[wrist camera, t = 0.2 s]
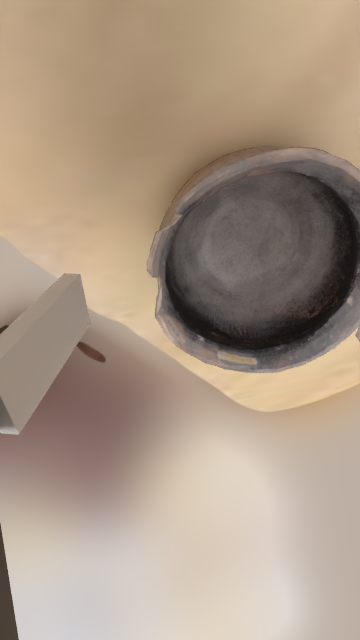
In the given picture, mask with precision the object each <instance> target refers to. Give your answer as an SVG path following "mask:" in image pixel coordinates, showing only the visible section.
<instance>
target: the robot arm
mask: <svg viewBox="0 0 360 640" xmlns="http://www.w3.org/2000/svg"><path fill="white" fill-rule="evenodd" d="M89 325H90V319H89V314H88V310H87V305H86V300H85V295H84V290H83V286H82V281H81V276H80V274H63V275H62V276H61V277H60V278H59V279H58V280H57V281H56V282H55V283H54V284H53V285H52V286H51V287H50V288H49V289H48V290H46V291H45V292H44V293H43V294H42V295H41V296H40V297H39V298H38V299H37V300H36V301H35V302H34V303H33V304H32V305H31V306H30V307H29V308H28V309H27V310H25V311H24V313H22V314H21V315H20V316H19V317H18V318H17V319H16V320H15V321H14V322H13V323H12V324H11V325H10V326H7V325H6V326H4V327H2V328H0V433H6V434H18V435H19V434H20V432H21V430H22V429H23V428H24V426H25V425H26V423H27V422H28V420H29V418H30V417H31V415H32V414H33V412H34V411H35V409H36V407H37V406H38V404H39V403H40V401H41V399H42V398H43V397H44V395H45V393H46V392H47V390H48V389H49V387H50V386H51V384H52V383H53V381H54V379H55V378H56V376H57V375H58V373H59V372H60V370H61V368H62V367H63V365H64V364H65V362H66V361H67V359H68V358H69V356H70V354H71V353H72V351H73V350H74V348H75V347H76V345H77V344H78V342H79V340H80V339H81V337H82V336H83V334H84V333H85V331H86V329H87V328H88V326H89ZM356 337H357V338H358V340H359V341H360V325H359V328H358V331H357V333H356ZM0 640H19V639H18V633H17V627H16V621H15V614H14V607H13V601H12V595H11V588H10V582H9V576H8V570H7V563H6V557H5V550H4V544H3V538H2V531H1V525H0Z"/></svg>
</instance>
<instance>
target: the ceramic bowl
mask: <svg viewBox="0 0 360 640" xmlns="http://www.w3.org/2000/svg"><path fill="white" fill-rule="evenodd" d="M147 271H148V272H149V274H150V275H151V276H152V277H156V278H157V279H158V289H159V292H158V295H157V299H156V309H155V318H156V319H157V321H158V323H159V324H160V326H161V328H162V330H163V332H164V334H165V335H166V336H167V337H168V338H169V339H170V340H171V341H172V342H173V343H174V344H175V345H176V346H177V347H179V348H180V349H182V350H183V351H185V352H186V353H188V354H190V355H192V356H194V357H195V358H197V359H199V360H201V361H202V362H204V363H207V364H211V365H215V366H218V367H220V368H223V369H227V370H234V371H241V372H247V373H274V372H281V371H283V370H286V369H290V368H294V367H298V366H301V365H303V364H306V363H308V362H310V361H312V360H314V359H316V358H318V357H320V356H322V355H324V354H325V353H327V352H329V351H330V350H332V349H334V348H335V347H336V346H338V345H339V344H340V343H341V342H342V341H343V340H345V339H346V338H347V337H348V336H350V335H351V334H352V333H353V332H354V331H355V330H356V329H357V327H358V326H359V325H360V170H359V169H357V168H356V167H355V166H353V165H352V164H350V163H349V162H348V161H346V160H344V159H341V158H338V157H336V156H333V155H331V154H329V153H327V152H325V151H323V150H319V149H315V148H304V147H292V148H282V147H272V146H265V147H256V148H250V149H245V150H240V151H237V152H234V153H231V154H228V155H226V156H223V157H221V158H219V159H217V160H215V161H214V162H212V163H210V164H209V165H207V166H205V167H204V168H202V169H201V170H200V171H198V172H197V173H196V174H194V175H193V176H192V177H191V178H190V179H189V180H188V181H187V182H186V184H185V185H184V186H183V187H182V189H181V190H180V191H179V193H178V194H177V195H176V197H175V198H174V200H173V201H172V203H171V205H170V207H169V208H168V210H167V212H166V214H165V216H164V218H163V220H162V223H161V226H160V229H159V231H157V232H156V233H155V237H154V240H153V243H152V246H151V250H150V255H149V258H148V261H147Z"/></svg>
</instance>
